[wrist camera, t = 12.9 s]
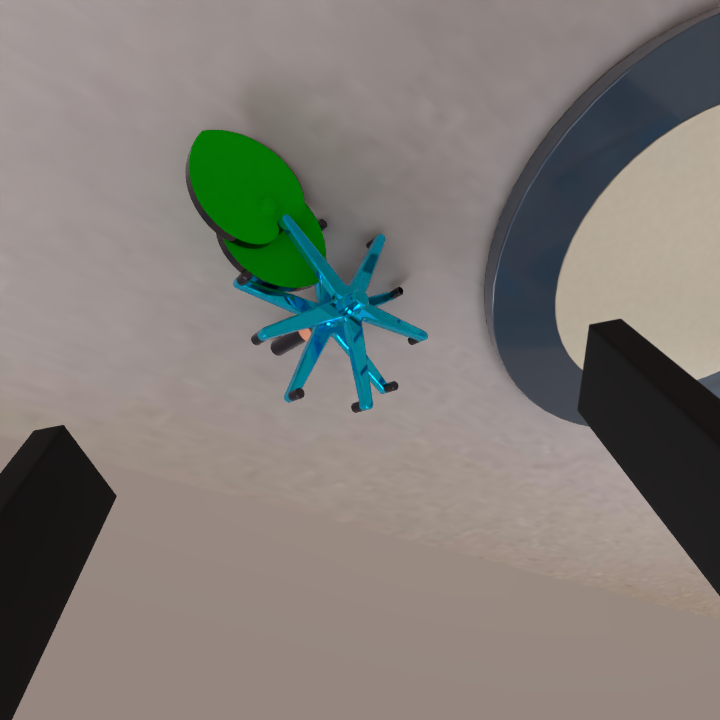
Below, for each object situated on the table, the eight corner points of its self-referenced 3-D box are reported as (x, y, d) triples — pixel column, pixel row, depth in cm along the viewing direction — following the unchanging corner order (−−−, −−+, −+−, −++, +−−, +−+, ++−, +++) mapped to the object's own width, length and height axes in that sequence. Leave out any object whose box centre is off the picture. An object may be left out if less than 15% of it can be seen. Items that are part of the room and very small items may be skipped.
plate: (1030, -62, 16) (1082, -72, 15) (810, 381, 27) (831, 394, 26) (479, 54, 16) (491, 52, 15) (486, 443, 27) (493, 458, 26)
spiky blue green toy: (463, 325, 20) (373, 452, 15) (368, 363, 25) (280, 465, 20) (290, 82, 17) (115, 142, 12) (225, 183, 22) (86, 252, 18)
